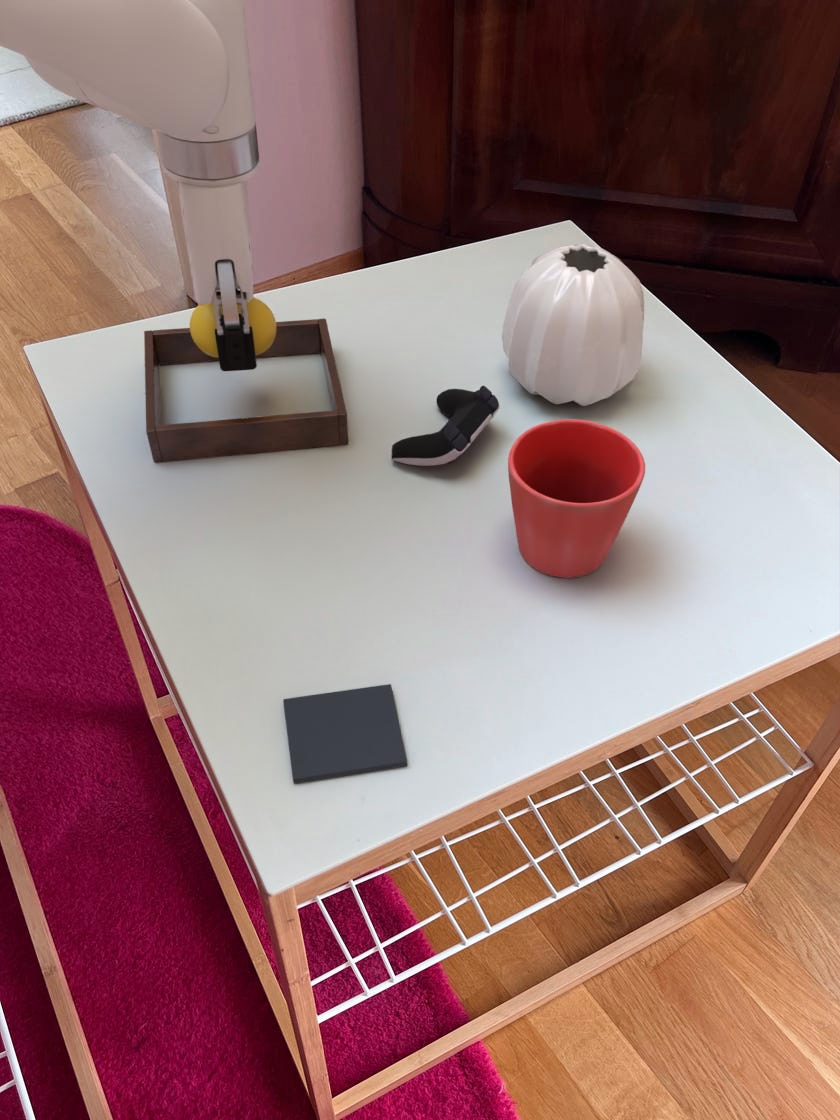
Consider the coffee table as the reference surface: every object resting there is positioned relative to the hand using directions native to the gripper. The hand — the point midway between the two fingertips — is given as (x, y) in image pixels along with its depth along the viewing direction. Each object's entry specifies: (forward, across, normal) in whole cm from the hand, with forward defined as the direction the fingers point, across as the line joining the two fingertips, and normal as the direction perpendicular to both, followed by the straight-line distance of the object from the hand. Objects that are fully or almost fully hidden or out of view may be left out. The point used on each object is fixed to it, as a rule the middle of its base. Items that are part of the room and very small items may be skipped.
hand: (236, 347), depth 90 cm
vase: (+6, +1, +32) cm, 33 cm away
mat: (+6, +40, +4) cm, 40 cm away
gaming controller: (+6, +9, +18) cm, 21 cm away
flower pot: (+6, +24, +25) cm, 35 cm away
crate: (+6, 0, 0) cm, 6 cm away
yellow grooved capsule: (0, 0, 0) cm, 0 cm away
